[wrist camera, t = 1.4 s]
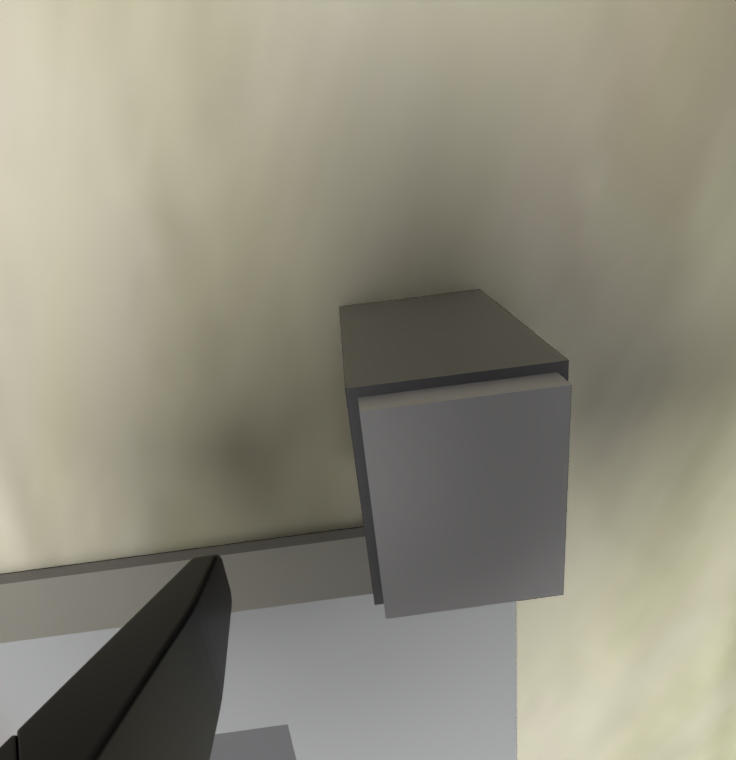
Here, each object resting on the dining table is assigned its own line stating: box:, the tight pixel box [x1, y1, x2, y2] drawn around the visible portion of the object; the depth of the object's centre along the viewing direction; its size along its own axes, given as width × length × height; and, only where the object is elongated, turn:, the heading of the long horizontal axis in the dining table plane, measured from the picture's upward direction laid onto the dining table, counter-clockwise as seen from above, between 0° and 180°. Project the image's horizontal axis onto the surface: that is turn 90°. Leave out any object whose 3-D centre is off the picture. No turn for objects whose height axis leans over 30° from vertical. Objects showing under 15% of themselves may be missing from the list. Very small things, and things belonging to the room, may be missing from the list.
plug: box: [339, 289, 571, 619], centre depth 13 cm, size 4×5×7 cm
